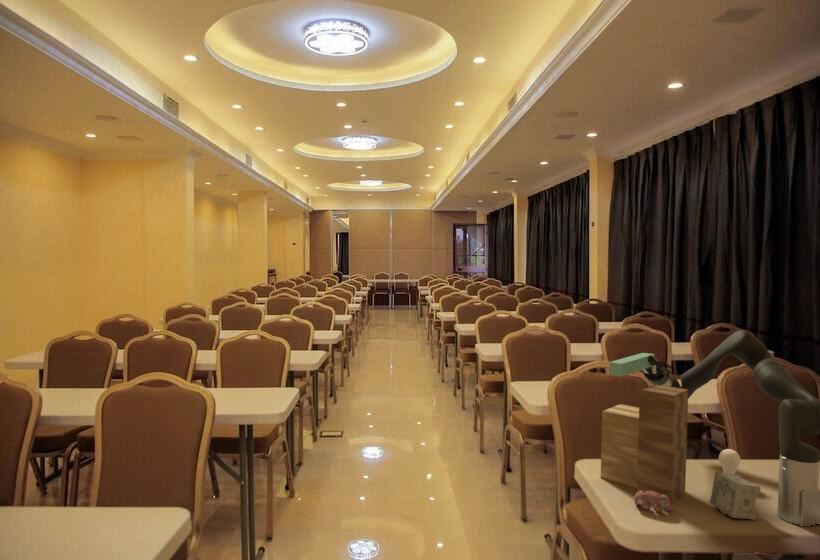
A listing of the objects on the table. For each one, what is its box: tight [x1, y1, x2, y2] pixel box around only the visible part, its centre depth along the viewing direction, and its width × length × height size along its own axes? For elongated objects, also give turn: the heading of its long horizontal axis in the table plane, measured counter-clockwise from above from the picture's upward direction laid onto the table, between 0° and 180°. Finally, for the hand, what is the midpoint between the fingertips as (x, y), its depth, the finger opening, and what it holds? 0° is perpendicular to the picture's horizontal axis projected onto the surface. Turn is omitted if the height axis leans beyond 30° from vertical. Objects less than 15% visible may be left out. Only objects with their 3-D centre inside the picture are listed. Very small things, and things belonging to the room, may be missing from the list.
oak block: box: [600, 403, 639, 489], centre depth 191 cm, size 14×12×22 cm
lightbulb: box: [718, 448, 741, 474], centre depth 187 cm, size 6×6×11 cm
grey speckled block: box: [709, 471, 761, 521], centre depth 164 cm, size 10×8×10 cm
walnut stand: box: [636, 384, 689, 505], centre depth 177 cm, size 12×10×32 cm
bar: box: [608, 352, 656, 377], centre depth 191 cm, size 26×4×4 cm, turn 136°
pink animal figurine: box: [633, 491, 672, 513], centre depth 166 cm, size 10×5×7 cm, turn 63°
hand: (642, 357), depth 197 cm, fingers closed on bar, 4 cm apart
